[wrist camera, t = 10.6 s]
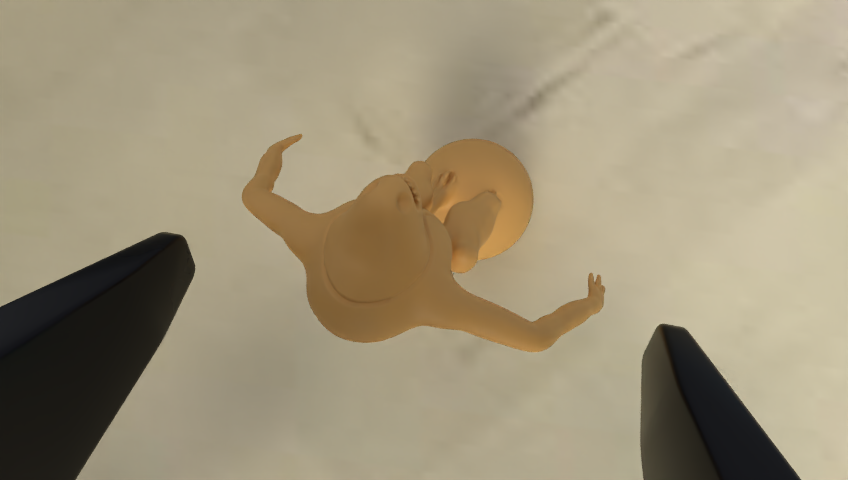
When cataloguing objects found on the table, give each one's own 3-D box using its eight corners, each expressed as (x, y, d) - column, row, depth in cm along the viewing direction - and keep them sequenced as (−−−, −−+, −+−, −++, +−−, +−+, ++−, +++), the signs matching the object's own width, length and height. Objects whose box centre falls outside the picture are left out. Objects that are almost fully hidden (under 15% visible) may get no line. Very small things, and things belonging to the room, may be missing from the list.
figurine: (604, 208, 18) (797, 71, 7) (530, 360, 18) (590, 501, 6) (398, 115, 20) (251, -136, 8) (329, 257, 20) (74, 218, 8)
